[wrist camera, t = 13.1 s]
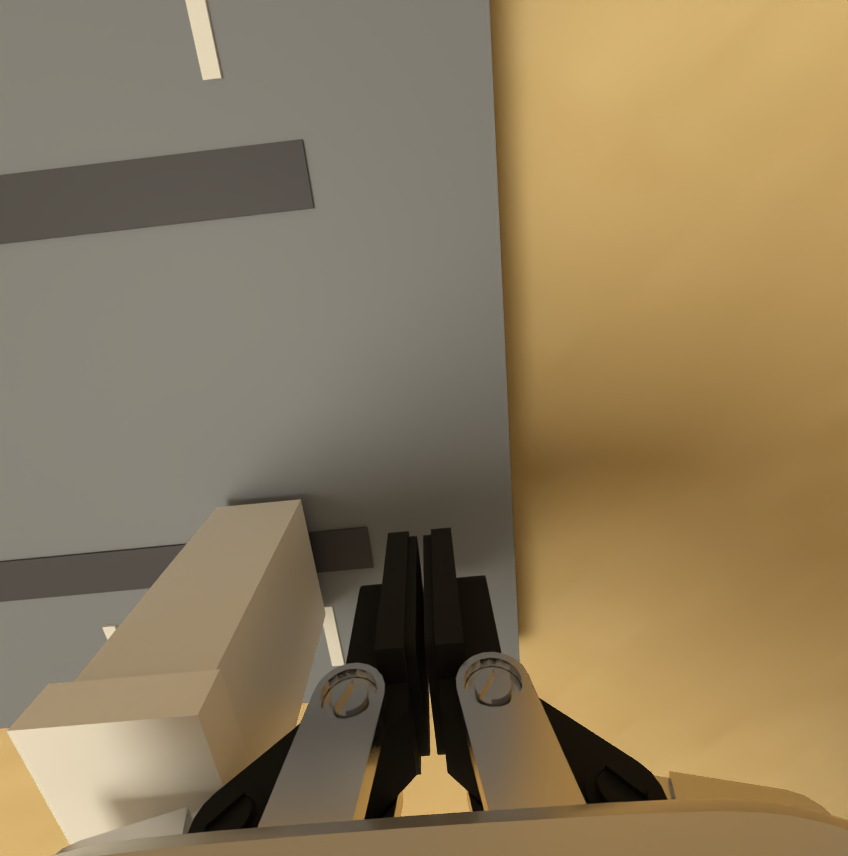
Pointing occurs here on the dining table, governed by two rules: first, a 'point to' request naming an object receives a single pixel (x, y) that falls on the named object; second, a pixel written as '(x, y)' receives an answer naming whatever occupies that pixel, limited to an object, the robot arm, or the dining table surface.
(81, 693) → the fader cream
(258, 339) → the panel
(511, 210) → the dining table surface
